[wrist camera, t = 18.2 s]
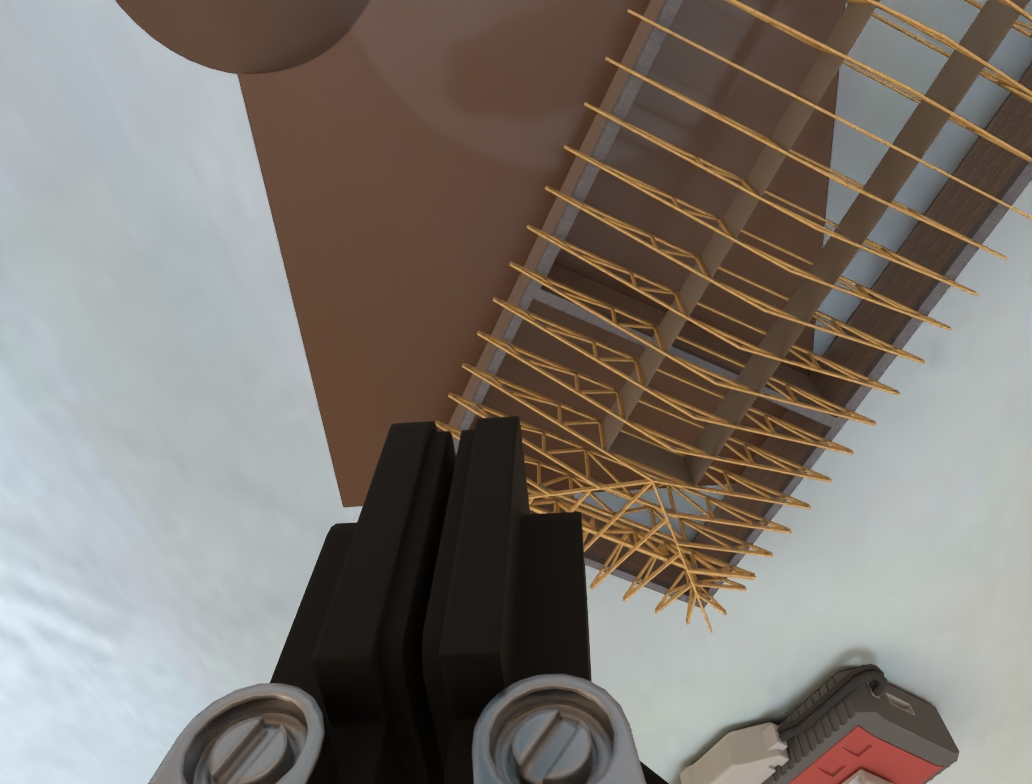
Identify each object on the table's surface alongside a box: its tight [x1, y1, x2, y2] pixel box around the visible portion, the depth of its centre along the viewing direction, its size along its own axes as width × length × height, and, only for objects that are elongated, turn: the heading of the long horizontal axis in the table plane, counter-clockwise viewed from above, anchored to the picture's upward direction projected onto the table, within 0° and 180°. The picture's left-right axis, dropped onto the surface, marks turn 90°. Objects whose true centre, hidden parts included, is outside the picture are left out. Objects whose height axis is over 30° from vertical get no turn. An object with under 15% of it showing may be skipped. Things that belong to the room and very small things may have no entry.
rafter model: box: [435, 0, 1032, 633], centre depth 25 cm, size 35×14×6 cm, turn 156°
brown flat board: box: [116, 0, 845, 507], centre depth 28 cm, size 24×28×1 cm
